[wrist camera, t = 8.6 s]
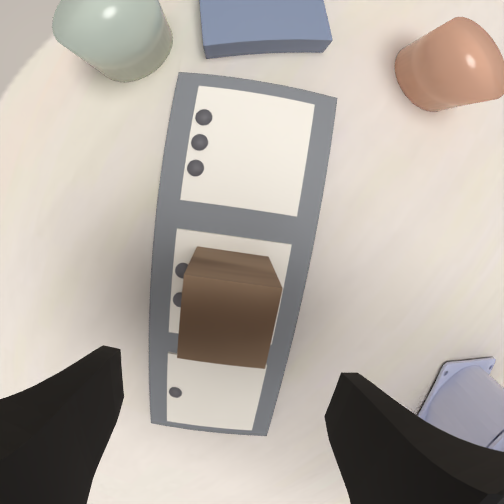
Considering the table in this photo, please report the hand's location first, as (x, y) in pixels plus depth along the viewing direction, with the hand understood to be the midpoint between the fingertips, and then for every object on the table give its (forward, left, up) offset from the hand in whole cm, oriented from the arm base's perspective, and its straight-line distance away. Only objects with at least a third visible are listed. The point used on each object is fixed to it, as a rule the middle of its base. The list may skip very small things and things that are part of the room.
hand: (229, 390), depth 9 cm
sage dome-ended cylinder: (+14, +8, -10) cm, 19 cm away
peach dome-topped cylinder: (+16, -11, -10) cm, 22 cm away
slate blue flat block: (+19, +1, -10) cm, 22 cm away
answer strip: (0, 0, -10) cm, 10 cm away
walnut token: (0, 0, -9) cm, 9 cm away
